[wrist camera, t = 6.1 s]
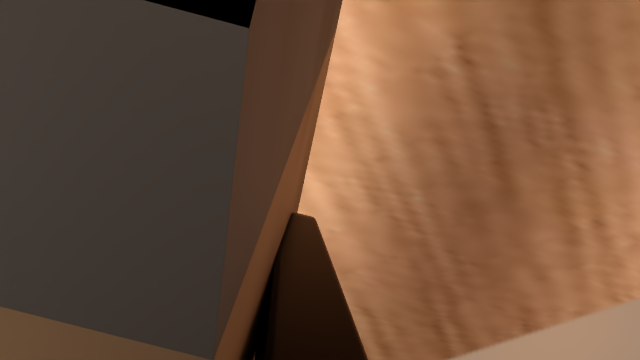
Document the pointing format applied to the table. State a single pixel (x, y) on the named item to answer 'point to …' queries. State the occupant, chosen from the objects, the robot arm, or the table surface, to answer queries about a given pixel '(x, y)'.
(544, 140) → the table surface
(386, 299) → the table surface
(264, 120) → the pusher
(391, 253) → the table surface
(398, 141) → the table surface
